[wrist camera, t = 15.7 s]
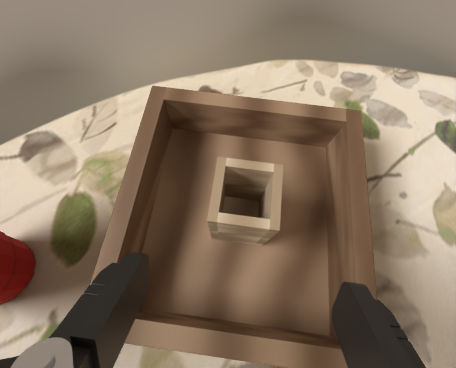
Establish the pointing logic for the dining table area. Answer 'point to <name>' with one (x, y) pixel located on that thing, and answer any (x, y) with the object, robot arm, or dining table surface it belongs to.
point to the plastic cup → (14, 267)
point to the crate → (235, 251)
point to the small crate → (245, 201)
